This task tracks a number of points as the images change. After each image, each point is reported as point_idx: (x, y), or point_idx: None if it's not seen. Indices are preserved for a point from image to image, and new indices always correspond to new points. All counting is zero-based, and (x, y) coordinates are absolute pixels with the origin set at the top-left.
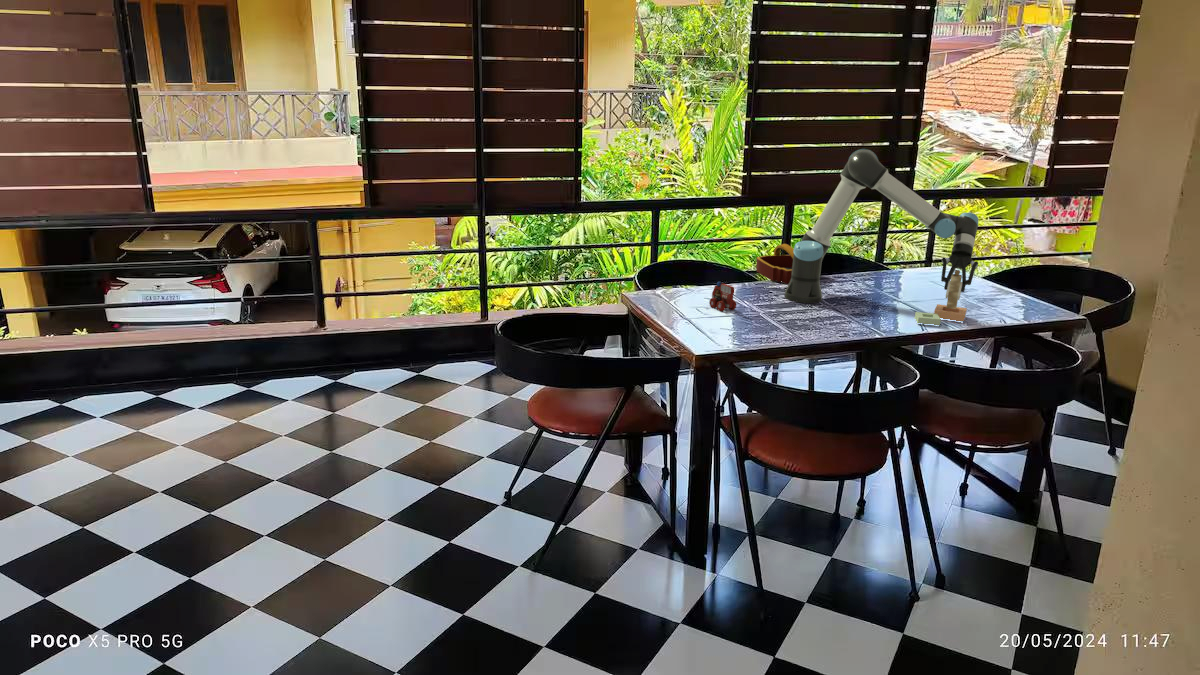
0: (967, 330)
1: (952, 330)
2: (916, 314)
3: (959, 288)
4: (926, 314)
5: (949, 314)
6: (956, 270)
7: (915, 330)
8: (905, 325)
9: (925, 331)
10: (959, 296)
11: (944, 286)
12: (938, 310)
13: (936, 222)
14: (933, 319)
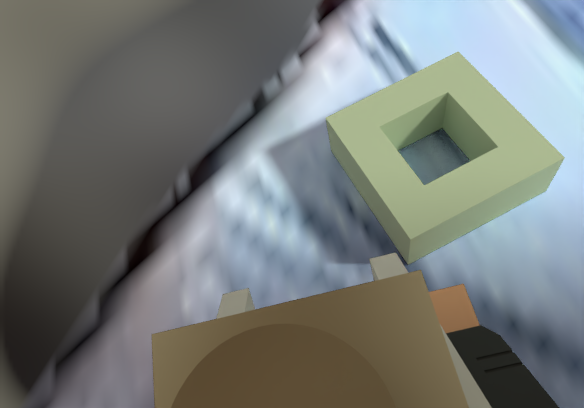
0: (170, 211)
1: (246, 144)
2: (523, 121)
3: None
4: (465, 164)
5: None
6: (314, 381)
7: (406, 3)
8: (497, 36)
9: (359, 25)
10: (227, 299)
11: (499, 335)
12: (437, 315)
13: None
14: (370, 99)
